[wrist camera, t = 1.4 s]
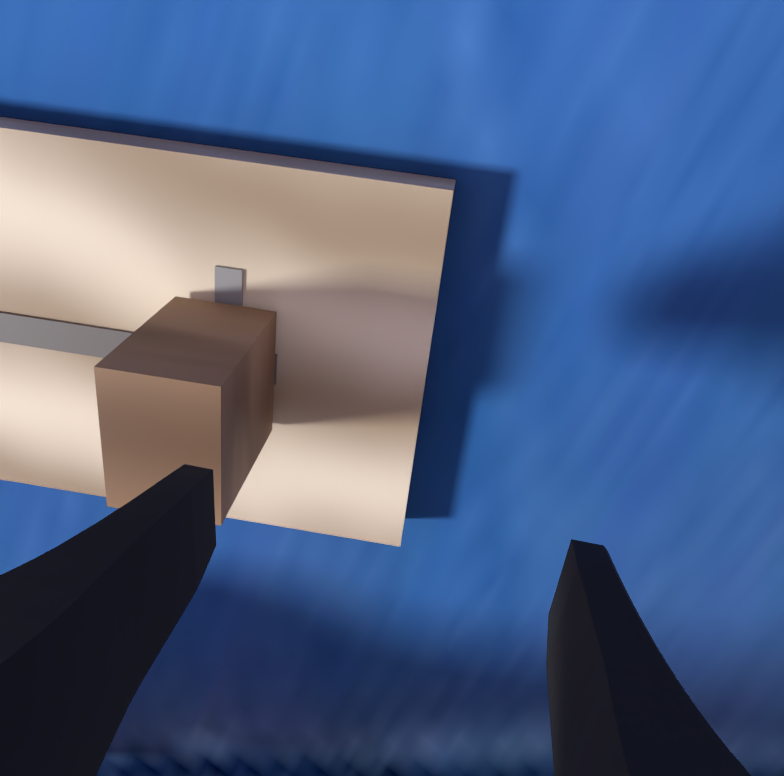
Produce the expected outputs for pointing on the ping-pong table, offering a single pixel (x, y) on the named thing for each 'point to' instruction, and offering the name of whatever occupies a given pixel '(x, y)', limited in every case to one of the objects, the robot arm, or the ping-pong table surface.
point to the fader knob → (187, 398)
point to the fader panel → (228, 286)
